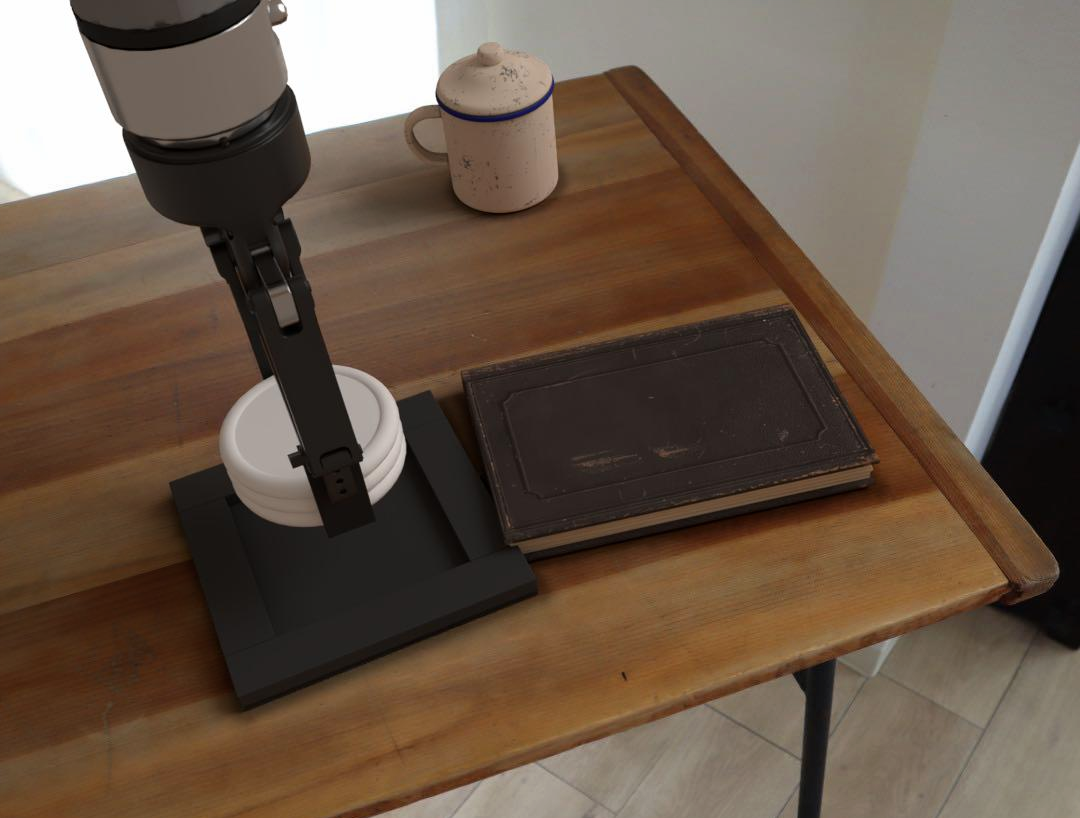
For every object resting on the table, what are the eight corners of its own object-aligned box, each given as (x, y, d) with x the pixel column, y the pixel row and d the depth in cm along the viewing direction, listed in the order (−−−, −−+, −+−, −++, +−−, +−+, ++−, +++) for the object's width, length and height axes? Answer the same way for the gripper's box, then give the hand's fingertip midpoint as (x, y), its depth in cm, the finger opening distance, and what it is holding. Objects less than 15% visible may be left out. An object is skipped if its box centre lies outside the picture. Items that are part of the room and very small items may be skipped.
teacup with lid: (559, 147, 99) (548, 11, 90) (564, 211, 93) (553, 73, 84) (417, 160, 99) (392, 26, 90) (413, 225, 93) (387, 88, 84)
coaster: (443, 456, 67) (434, 411, 64) (308, 561, 63) (293, 518, 60) (331, 380, 72) (318, 336, 69) (199, 473, 68) (180, 430, 65)
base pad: (175, 497, 77) (168, 481, 75) (433, 405, 80) (430, 388, 79) (244, 712, 66) (236, 697, 64) (539, 594, 69) (537, 578, 68)
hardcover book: (874, 485, 72) (880, 459, 70) (508, 566, 70) (504, 541, 69) (784, 323, 82) (787, 297, 81) (463, 390, 81) (459, 365, 79)
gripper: (372, 213, 44) (453, 577, 61) (226, -26, 58) (326, 325, 75) (176, 276, 42) (316, 631, 60) (75, 15, 56) (212, 364, 73)
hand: (322, 461), depth 67 cm, fingers closed on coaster, 10 cm apart
